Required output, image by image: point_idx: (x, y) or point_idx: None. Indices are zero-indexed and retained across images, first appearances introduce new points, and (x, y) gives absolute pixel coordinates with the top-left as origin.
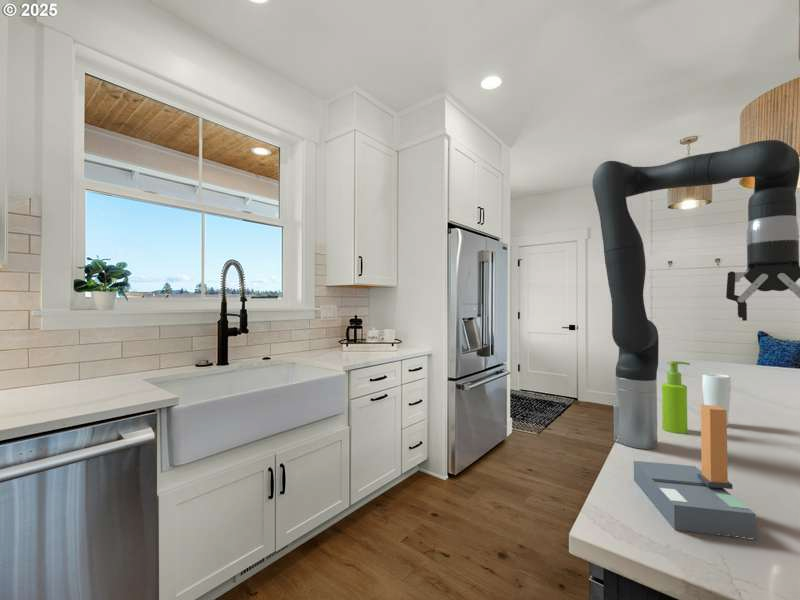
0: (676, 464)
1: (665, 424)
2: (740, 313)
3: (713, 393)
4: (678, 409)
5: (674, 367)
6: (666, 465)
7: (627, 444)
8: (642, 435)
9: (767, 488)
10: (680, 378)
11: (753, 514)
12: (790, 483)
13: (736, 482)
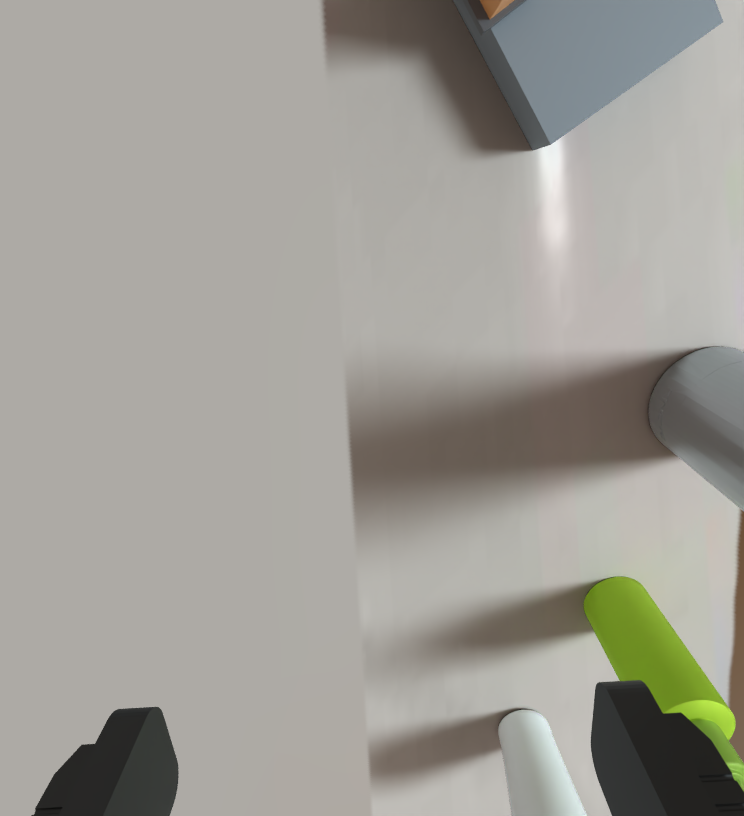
0: (598, 108)
1: (646, 594)
2: (696, 767)
3: (558, 803)
4: (637, 636)
5: None
6: (625, 67)
7: (731, 348)
8: (710, 368)
9: (387, 292)
10: None
11: None
12: (350, 375)
13: (448, 276)
